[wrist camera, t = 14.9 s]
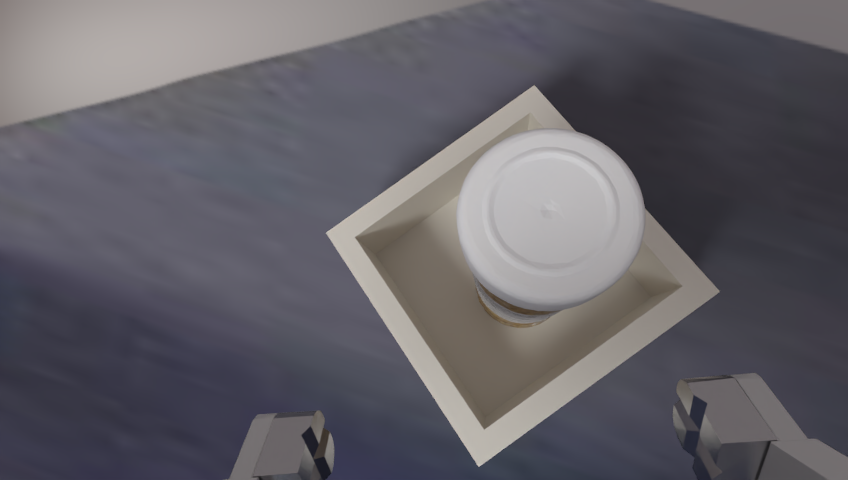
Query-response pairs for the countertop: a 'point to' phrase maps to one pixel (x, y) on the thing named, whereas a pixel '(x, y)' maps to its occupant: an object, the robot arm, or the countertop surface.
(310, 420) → the robot arm
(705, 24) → the countertop surface
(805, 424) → the countertop surface
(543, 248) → the sprinkles bottle
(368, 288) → the box
